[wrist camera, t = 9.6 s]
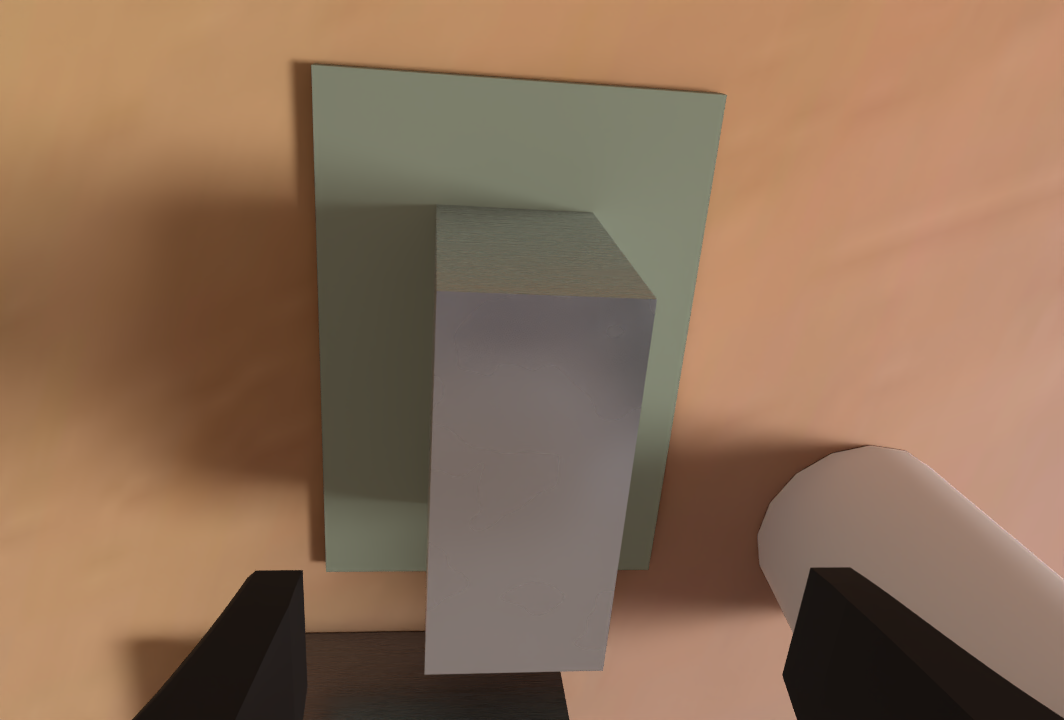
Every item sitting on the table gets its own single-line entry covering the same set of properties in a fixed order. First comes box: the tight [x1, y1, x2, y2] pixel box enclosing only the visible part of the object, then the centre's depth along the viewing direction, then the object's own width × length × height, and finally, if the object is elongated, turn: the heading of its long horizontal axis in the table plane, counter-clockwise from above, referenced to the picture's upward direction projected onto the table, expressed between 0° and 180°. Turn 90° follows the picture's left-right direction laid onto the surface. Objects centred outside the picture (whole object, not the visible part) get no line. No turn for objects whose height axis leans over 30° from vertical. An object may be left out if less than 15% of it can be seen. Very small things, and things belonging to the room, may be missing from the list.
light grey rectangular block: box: [424, 204, 657, 675], centre depth 17 cm, size 4×8×6 cm, turn 175°
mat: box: [311, 64, 727, 572], centre depth 20 cm, size 9×13×1 cm
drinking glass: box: [757, 445, 1064, 718], centre depth 19 cm, size 7×7×10 cm
